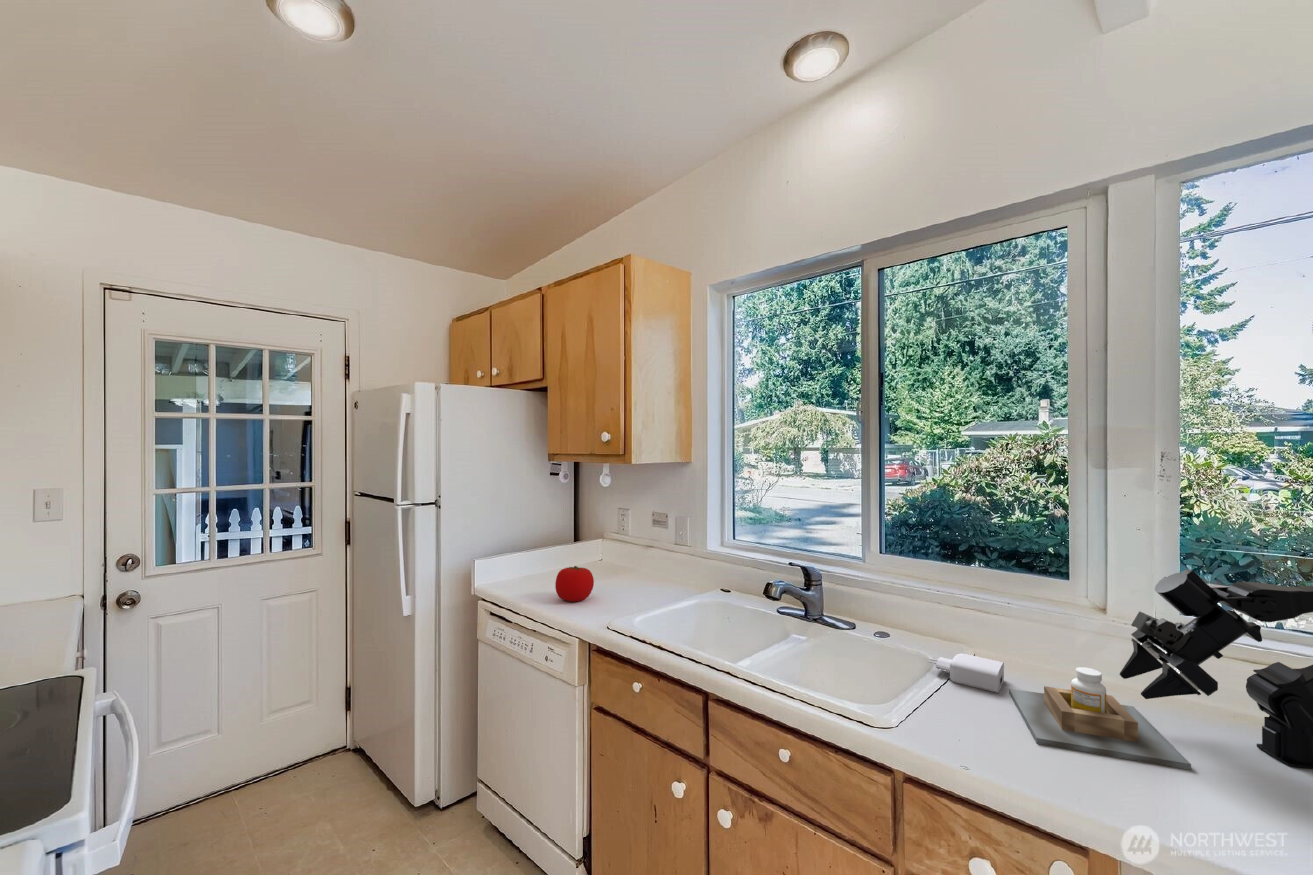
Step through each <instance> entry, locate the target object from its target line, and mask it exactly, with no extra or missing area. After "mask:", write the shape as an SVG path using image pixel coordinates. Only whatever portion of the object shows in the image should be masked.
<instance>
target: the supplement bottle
mask: <svg viewBox="0 0 1313 875" xmlns="http://www.w3.org/2000/svg"><path fill="white" fill-rule="evenodd" d="M1102 676H1103V674H1102V672H1101V671H1098V670H1096V669H1094V668H1090V667H1084V666H1083V667H1081V666H1078V667H1076V668H1075V678H1072V680H1071V682H1070V686H1071V687H1070V688H1071V689H1070V690H1071V708H1073V709H1080V710H1086V711H1093V712H1100V713H1106V695H1107V688H1106V686H1105V685H1104V684H1103V683H1101V682H1102V680H1103V677H1102Z"/></svg>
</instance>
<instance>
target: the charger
mask: <svg viewBox="0 0 1313 875" xmlns="http://www.w3.org/2000/svg"><path fill="white" fill-rule="evenodd" d="M927 662H928V663H930V664H933V665H935V668H936V669H937V670H939V669H941V670H940V671H943V670H946V671H945V672H947V671H949V672H948V673H949V679H950V680H951V681H952V682H954V683H956V684H960V685H965V686H968V687H972V688H976V689H980V690H984V691H988V692H990V693H991V692H992V693H996V694H999V692H1000V691H1001V688H1002V686H1003V683H1004V680H1005V662H1002V661H998V660H994V659H990V658H984V657H980V656H976V655H972V654H966V653H961V652H960V653H957V654H955V655H954V657H953V658H952V659H951V658H946V657H941V656H939V657H938V659H935V658H929V660H927Z"/></svg>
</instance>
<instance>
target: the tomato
mask: <svg viewBox="0 0 1313 875" xmlns="http://www.w3.org/2000/svg"><path fill="white" fill-rule="evenodd" d="M578 566H579V565H574V566H569V567H568V566H567V567H565V568H562V569H560V570H559V572H558V573H557V575H556V577H555V584H554V585H555V586H554V587H555V588H554V589H555V591H556V594H557V596H558V598H560V599H561V600H562V601H567V602H571V603H572V602H573V603H574V602H580V601H581V602H582V601H584V600H586V599H587V598H588V597H589V596H590V595H591V594H592V592H593V588H594V584H595V580H594V576H593V572H591V570H590V569H589V568H586V567H578Z"/></svg>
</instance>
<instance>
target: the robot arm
mask: <svg viewBox="0 0 1313 875" xmlns="http://www.w3.org/2000/svg"><path fill="white" fill-rule="evenodd" d="M1154 592H1156V593H1157V594H1158V595H1159V596H1160V597H1162V598H1163V599H1164V600H1165V601H1166V602H1167V603H1168V604H1170V605H1171V606H1172V607H1173V608H1174V609H1175V610H1176V611H1178V612H1179V613H1180V614H1181V615H1182V616H1184V617H1185V616H1186V617H1192V616H1193V617H1195V618H1193V619H1192V620H1191V621H1189V622H1188V623H1186V624H1184V623H1182V622H1175V623H1174V622H1172V621H1169V620H1167V619H1165V618H1160V619H1158V618H1156V617H1153V616H1151V615H1148V614H1146V613H1145V612H1142V611H1140V610H1139V611H1138V612H1137V614H1136V616H1135V617H1134V619H1133V621H1132V623H1131V627H1135V628H1136V630H1135V631H1134V632H1131V633H1130V635H1131V636H1132V638H1131V642H1132V646H1133V647H1132V648H1133V651H1132V654H1131V655H1130V657H1129V659H1128V660H1127V661H1126V663H1125V664H1124V665H1123V668H1122V669H1121V671H1120V672H1119V676H1120V677H1121V678H1122V679H1124V680H1126V679H1130V678H1134V677H1137V676H1142V675H1144V674H1148V673H1150V672H1153V671H1156V670H1160V669H1162V672H1161V674H1159V675H1158V676H1157V677H1156V678H1155V679H1154V680H1153V681H1152V682H1150V683H1149V684H1148V685H1147V686H1146V687H1145V688H1144V689H1143V690H1142V691H1141V692H1140V695H1141V696H1142V697H1143V698H1144V699H1145V700H1150V699H1151V700H1152V699H1159V698H1167V697H1175V696H1177V697H1178V696H1186V695H1187V696H1188V695H1197V696H1201V695H1202V694H1204V695H1206V696H1207V697H1210V696H1211V695H1212V694H1214V693H1216V692H1217V691H1218V690H1219V682H1218V681H1217V680H1216V679H1215V678H1213V677H1212V675H1210V674H1209V673H1208V672H1207V671H1206V670H1205V669H1203V668H1202V667H1201V666H1200V665H1201V664H1203V663H1205V662H1206V661H1207V660H1209V659H1210V658H1212V657H1214V658H1216V659H1217V660H1220V659H1221V658H1222V657H1224V655H1223V654H1222V653H1221V652H1220V651H1222V650H1224V649H1225V648H1226V647H1228V646H1230V645H1231V644H1232V643H1234V642H1235V641H1237V640H1238V639H1240V638H1241V637H1242V636H1244V635H1245V637H1246V636H1247V637H1248V638H1250V639H1252V640H1254V641H1256V642H1258V643H1261V642H1263V636H1262V631H1261V629H1262V627H1261V626H1260V625H1259V624H1257V623H1254V622H1252V621H1249V622H1248V621H1247V620H1246V619H1245V618H1243V617H1242V616H1241V615H1240V614H1243V615H1245V616H1247V617H1249V618H1252V619H1255V620H1257V621H1259V622H1263V623H1275V622H1281V621H1286V620H1291V619H1295V618H1297V617H1300V616H1302V615H1305V614H1309V613H1311V614H1312V613H1313V585H1301V586H1288V585H1287V586H1286V585H1280V584H1273V583H1264V582H1254V581H1236V582H1234V583H1231V584H1230V585H1229V586H1219V587H1218V586H1217V587H1215V586H1214V587H1211V586H1210V584H1208V583H1206V582H1205V581H1204V580H1203V579H1202V577H1200V576H1199V575H1198V573H1196V572H1195V571H1194V570H1191V569H1189V568H1188V569H1187V568H1186V569H1184V570H1183V571H1182V572H1175V573H1173V574H1169V575H1168V576H1164V577H1163V578H1161V579H1160V580H1158V582H1157V583H1156V585H1155V586H1154ZM1218 603H1220V604H1223V606H1224V605H1225V606H1227V607H1229V608H1232V610H1230V609H1229V610H1227V609H1225V608H1223V607H1222V606H1220V604H1218ZM1239 613H1240V614H1239ZM1169 664H1170V665H1169ZM1252 671H1253V674H1251V675H1250V676H1248V677H1247V678H1246V683H1245V690H1246V693H1247V694H1248V696H1249V697H1250V698H1251V699H1252V700H1253V701H1254V702H1256V704H1257V706H1258V709H1259V710H1260V711H1262V712H1264V713H1265V714H1267V715H1268V716H1264V717H1263V718H1264V720H1263V721H1264V725H1262V727H1261V728H1262V729H1261V743H1256V748H1259V750H1261V751H1263V752H1265V753H1267V754H1268V755H1269V756H1272V757H1273V758H1275V759H1276V760H1278V761H1280V762H1282V763H1284V764H1285V765H1286V766H1288V767H1293V768H1306V769H1313V664H1310V665H1308V666H1305V667H1302V668H1301V667H1300V668H1291V667H1289V666H1288V665H1285V664H1284V663H1282V662H1280V661H1277V662H1273V663H1270V665H1268V666H1265V667H1264V668H1260V669H1253V670H1252ZM1201 692H1202V693H1201Z"/></svg>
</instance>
